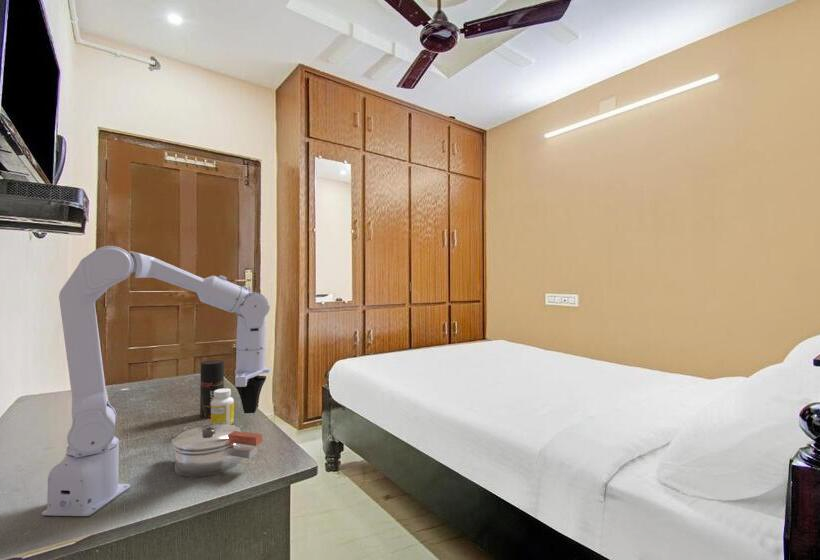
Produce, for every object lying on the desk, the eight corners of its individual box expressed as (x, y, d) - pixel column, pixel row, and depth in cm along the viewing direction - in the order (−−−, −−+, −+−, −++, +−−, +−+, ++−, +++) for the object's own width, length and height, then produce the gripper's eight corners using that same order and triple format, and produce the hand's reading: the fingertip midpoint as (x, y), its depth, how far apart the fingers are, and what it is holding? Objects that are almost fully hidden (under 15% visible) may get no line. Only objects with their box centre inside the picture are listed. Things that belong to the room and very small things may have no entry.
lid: (159, 447, 79) (159, 438, 79) (205, 425, 91) (205, 417, 91) (238, 458, 74) (238, 448, 74) (276, 433, 86) (276, 425, 86)
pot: (149, 471, 80) (149, 446, 80) (199, 446, 92) (199, 424, 92) (230, 486, 74) (231, 459, 74) (272, 457, 86) (272, 434, 86)
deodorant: (206, 419, 110) (207, 365, 110) (196, 415, 113) (196, 362, 113) (227, 414, 114) (227, 361, 114) (216, 409, 118) (217, 359, 118)
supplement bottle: (227, 422, 107) (228, 386, 107) (237, 427, 104) (238, 390, 104) (206, 428, 103) (207, 390, 103) (216, 433, 100) (217, 394, 100)
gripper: (261, 354, 78) (261, 423, 78) (277, 342, 93) (276, 401, 92) (224, 354, 77) (223, 424, 77) (245, 343, 92) (245, 402, 92)
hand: (250, 412), depth 85 cm, fingers closed
